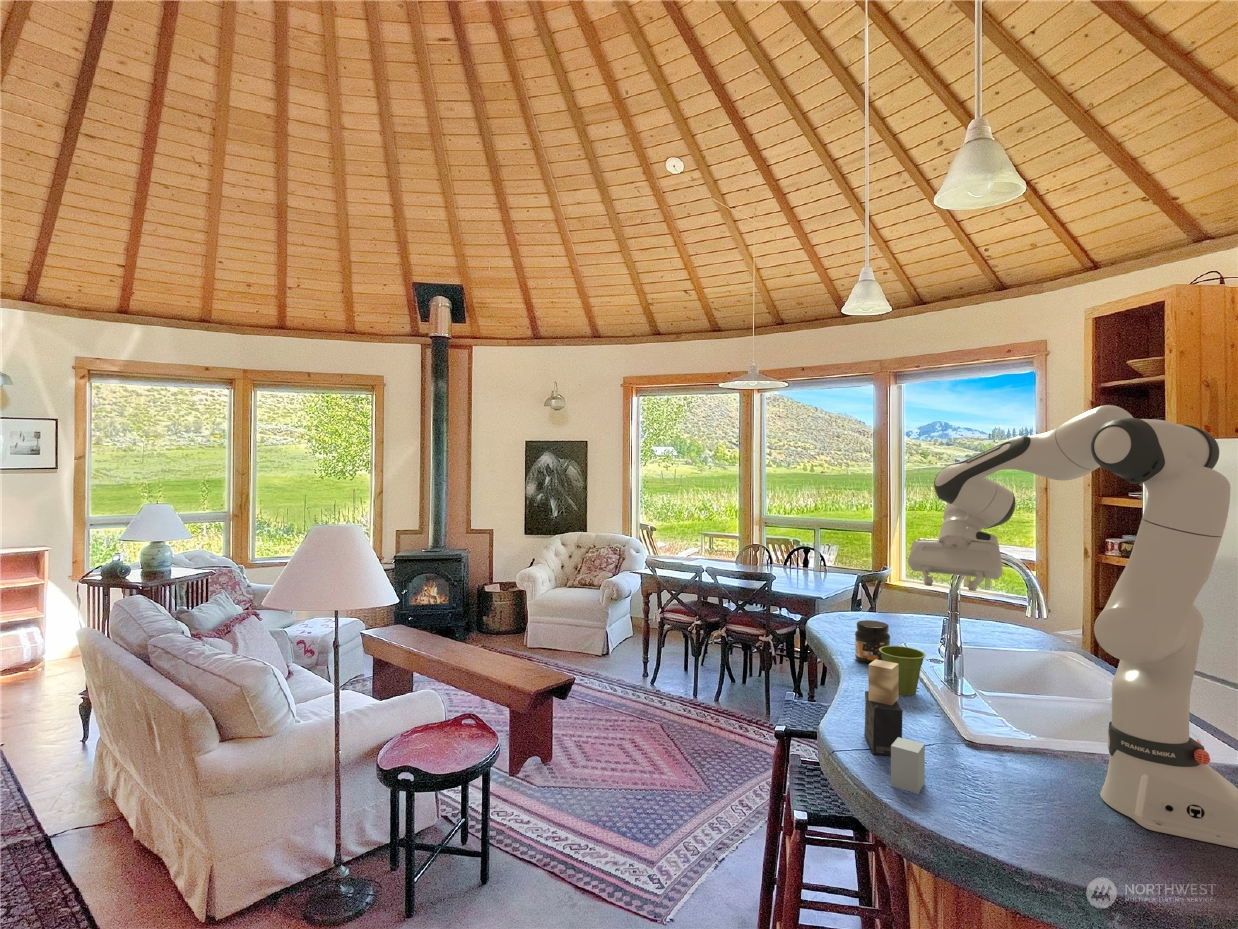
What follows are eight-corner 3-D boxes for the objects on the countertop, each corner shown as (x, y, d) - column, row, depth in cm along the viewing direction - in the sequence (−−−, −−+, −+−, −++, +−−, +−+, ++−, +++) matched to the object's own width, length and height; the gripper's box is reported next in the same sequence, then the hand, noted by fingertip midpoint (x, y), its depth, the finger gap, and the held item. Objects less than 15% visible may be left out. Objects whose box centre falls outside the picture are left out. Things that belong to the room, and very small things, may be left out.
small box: (904, 758, 137) (904, 709, 137) (872, 755, 138) (872, 707, 138) (893, 737, 147) (893, 692, 147) (863, 735, 149) (863, 690, 149)
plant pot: (928, 702, 169) (928, 660, 169) (880, 697, 173) (880, 655, 173) (922, 687, 180) (922, 647, 180) (877, 682, 184) (877, 643, 184)
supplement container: (848, 660, 204) (848, 623, 204) (864, 654, 211) (864, 618, 211) (880, 668, 196) (881, 630, 196) (896, 661, 203) (896, 624, 203)
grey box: (924, 784, 126) (924, 744, 126) (918, 794, 122) (918, 753, 122) (898, 776, 129) (898, 737, 129) (890, 786, 125) (890, 745, 125)
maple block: (898, 699, 143) (898, 663, 143) (891, 705, 139) (891, 669, 139) (875, 694, 146) (875, 659, 146) (868, 700, 142) (868, 664, 142)
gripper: (911, 530, 162) (900, 573, 155) (1003, 536, 150) (997, 584, 142) (915, 546, 166) (905, 589, 158) (1006, 553, 153) (1000, 600, 146)
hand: (949, 586), depth 150 cm, fingers open, 8 cm apart
